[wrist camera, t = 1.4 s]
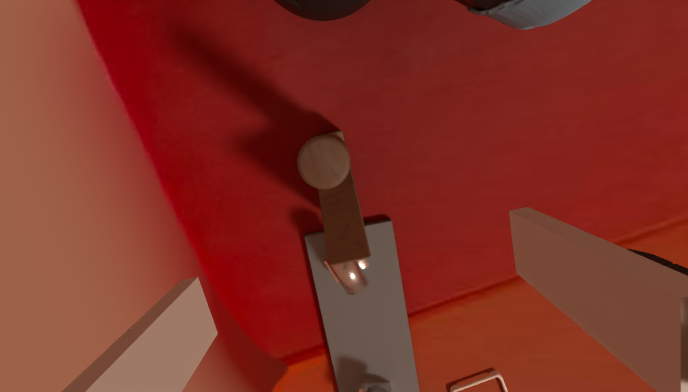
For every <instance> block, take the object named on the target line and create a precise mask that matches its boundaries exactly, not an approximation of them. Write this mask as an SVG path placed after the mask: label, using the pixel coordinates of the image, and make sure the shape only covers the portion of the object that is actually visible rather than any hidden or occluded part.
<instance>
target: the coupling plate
mask: <svg viewBox="0 0 688 392" xmlns="http://www.w3.org/2000/svg"><path fill="white" fill-rule="evenodd" d="M364 227H365V232H366V236H367V240H368V245H369V249H370V253H371V257H370V258H367V259H368V263H369V266H368V267H366V268H365V269H363V271H364V273H365V275H366V276H367V278H368V279H369V283H368V285H367V286H366V287H365V288H364V289H363V290H362V291H361V292H359V293H357V294H355V295H348V294H347V293H346V292H345V290H344V288H343V287H342V285H341V284H340V282H339V283H337V281H336V280H335V278H334V277H333V275H332V274H331V272H330V270H329V269H328V267H327V266H326V264H325V263H324V258H325V255H326V254H327V248H326V241H325V234H324V231H321V232H316V233H310V234H305V242H306V246H307V251H308V255H309V260H310V264H311V269H312V273H313V278H314V282H315V287H316V291H317V296H318V300H319V305H320V309H321V314H322V318H323V323H324V328H325V332H326V337H327V341H328V346H329V350H330V355H331V359H332V364H333V368H334V373H335V377H336V382H337V386H338V391H339V392H356V388H357V383H358V378H359V377H360V378H367V379H374V380H381V381H388V382H390V383H391V389H392V392H419V386H418V380H417V373H416V367H415V361H414V355H413V349H412V343H411V337H410V330H409V324H408V318H407V312H406V306H405V300H404V294H403V287H402V281H401V275H400V269H399V263H398V257H397V251H396V244H395V238H394V232H393V226H392V221H391V219H388V220H382V221H377V222H371V223H366V224H364Z"/></svg>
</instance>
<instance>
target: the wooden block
mask: <svg viewBox="0 0 688 392" xmlns="http://www.w3.org/2000/svg"><path fill="white" fill-rule="evenodd" d="M297 167H298V171H299V173H300V175H301V177H302V178H303V180H304V181H305V182H306V183H307V184H309V185H311V186H312V187H314V188H318V193H319V200H320V207H321V214H322V221H323V227H324V234H325V241H326V248H327V255H328V262H329V265H330V266H335V265H339V264H344V263H348V262H353V261H358V260H362V259H367V258H370V257H371V253H370V249H369V245H368V240H367V236H366V232H365V227H364V222H363V218H362V214H361V209H360V205H359V200H358V196H357V192H356V188H355V184H354V179H353V174H352V170H351V162H350V155H349V152H348V149H347V146H346V144H345V139H344V135H343V132H342V131H340V130H339V131H335V132H331V133H326V134H322V135H318V136H314V137H312V138H311V139H309V140H308V141H307V142H306V143H305V144H303V146H302V147H301V149H300V151H299V153H298V157H297Z"/></svg>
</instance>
